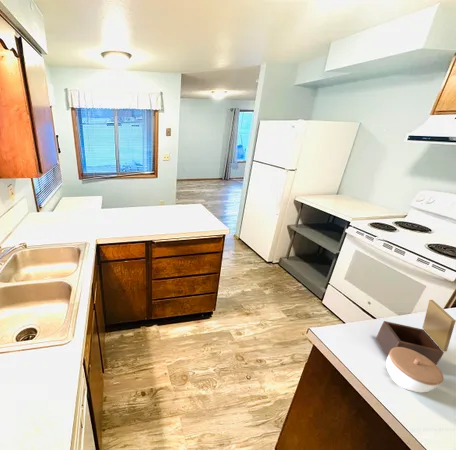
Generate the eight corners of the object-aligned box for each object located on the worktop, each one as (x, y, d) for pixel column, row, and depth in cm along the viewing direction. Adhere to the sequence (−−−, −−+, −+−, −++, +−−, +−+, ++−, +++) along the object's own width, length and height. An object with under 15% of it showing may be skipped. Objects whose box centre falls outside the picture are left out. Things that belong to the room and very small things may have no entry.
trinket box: (385, 388, 69) (399, 367, 65) (375, 357, 77) (387, 337, 73) (437, 407, 64) (455, 386, 60) (420, 372, 73) (435, 352, 69)
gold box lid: (451, 320, 67) (455, 320, 67) (429, 299, 76) (432, 299, 75) (443, 351, 71) (446, 351, 70) (422, 328, 79) (425, 328, 79)
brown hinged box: (389, 361, 77) (399, 342, 74) (375, 338, 85) (383, 320, 82) (431, 372, 74) (444, 352, 71) (413, 347, 82) (423, 329, 79)
